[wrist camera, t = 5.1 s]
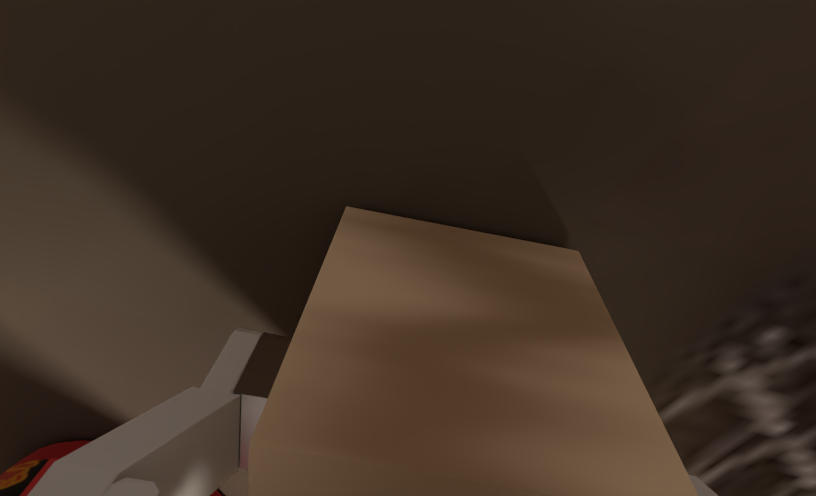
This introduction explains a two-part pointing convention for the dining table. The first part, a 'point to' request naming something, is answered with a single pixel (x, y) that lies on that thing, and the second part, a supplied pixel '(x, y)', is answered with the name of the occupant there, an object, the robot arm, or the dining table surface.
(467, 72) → the dining table surface
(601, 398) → the oak block
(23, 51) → the dining table surface
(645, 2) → the dining table surface
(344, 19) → the dining table surface
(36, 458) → the canned food
